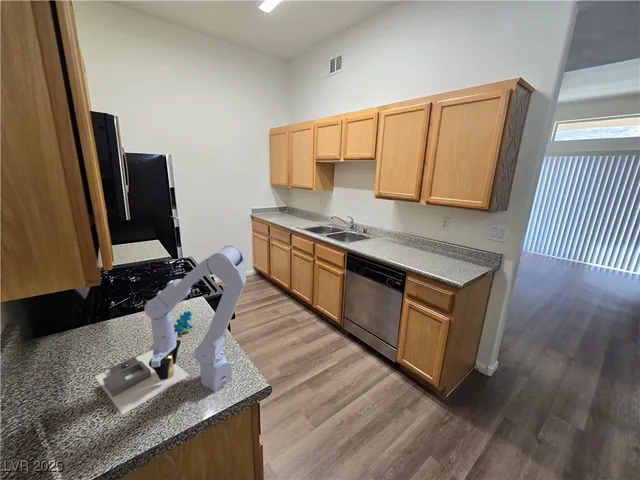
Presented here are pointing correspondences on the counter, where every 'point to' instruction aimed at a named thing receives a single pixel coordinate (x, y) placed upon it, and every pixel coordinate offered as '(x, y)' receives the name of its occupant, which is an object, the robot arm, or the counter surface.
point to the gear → (183, 323)
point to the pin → (170, 365)
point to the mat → (142, 385)
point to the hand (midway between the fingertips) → (167, 371)
